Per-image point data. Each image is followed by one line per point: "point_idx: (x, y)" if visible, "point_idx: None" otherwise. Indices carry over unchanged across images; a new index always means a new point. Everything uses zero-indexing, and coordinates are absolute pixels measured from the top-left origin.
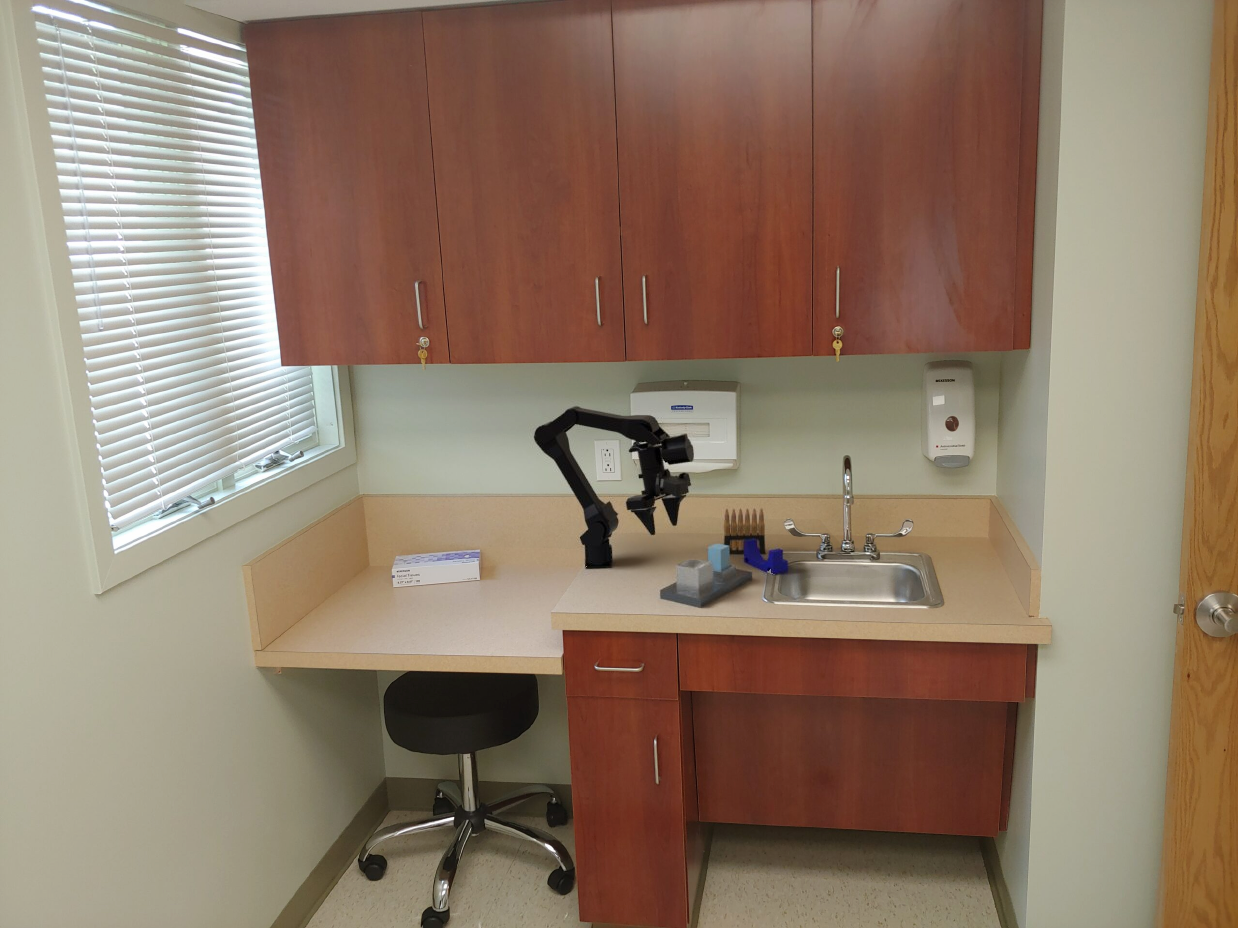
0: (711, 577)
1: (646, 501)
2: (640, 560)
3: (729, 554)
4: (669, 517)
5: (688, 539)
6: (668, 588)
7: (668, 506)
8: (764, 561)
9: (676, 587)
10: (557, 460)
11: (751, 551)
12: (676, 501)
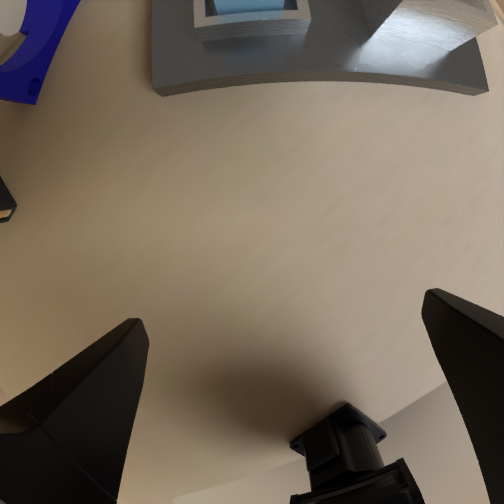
0: None
1: None
2: (231, 386)
3: (9, 192)
4: (135, 402)
5: (19, 370)
6: (467, 73)
7: (97, 477)
8: (33, 34)
9: (447, 53)
10: None
11: (13, 67)
12: (13, 454)
